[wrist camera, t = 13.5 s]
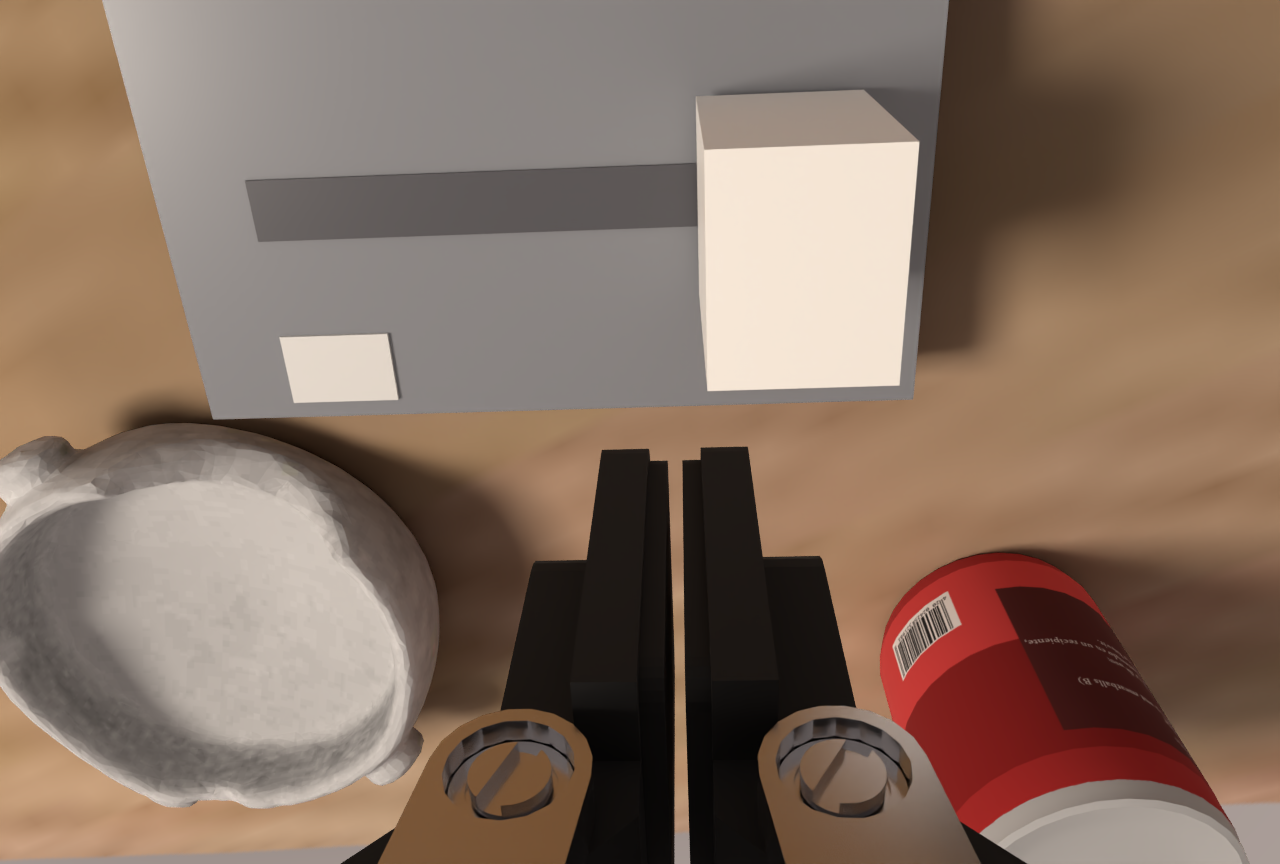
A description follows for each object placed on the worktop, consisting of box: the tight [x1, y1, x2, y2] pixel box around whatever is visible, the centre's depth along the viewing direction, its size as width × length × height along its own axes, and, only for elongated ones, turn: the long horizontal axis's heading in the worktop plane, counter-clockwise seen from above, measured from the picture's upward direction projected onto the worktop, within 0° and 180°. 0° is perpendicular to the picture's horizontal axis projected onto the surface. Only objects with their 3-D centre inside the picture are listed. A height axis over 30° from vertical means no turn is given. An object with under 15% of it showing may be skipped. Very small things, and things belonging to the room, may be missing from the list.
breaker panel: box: [102, 0, 949, 419], centre depth 27 cm, size 20×12×3 cm, turn 92°
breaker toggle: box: [696, 90, 919, 391], centre depth 23 cm, size 4×5×6 cm
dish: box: [0, 423, 440, 808], centre depth 34 cm, size 14×14×5 cm
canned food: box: [880, 553, 1250, 864], centre depth 31 cm, size 8×8×11 cm
